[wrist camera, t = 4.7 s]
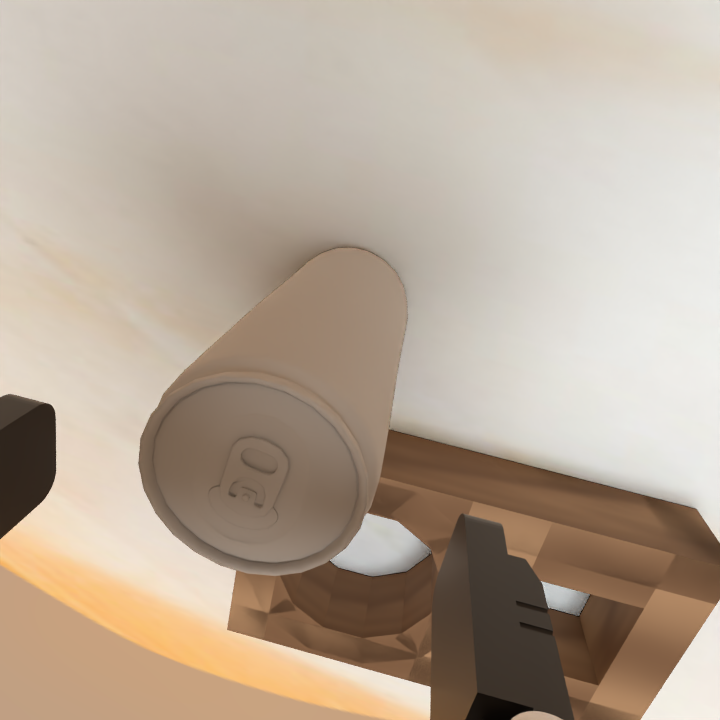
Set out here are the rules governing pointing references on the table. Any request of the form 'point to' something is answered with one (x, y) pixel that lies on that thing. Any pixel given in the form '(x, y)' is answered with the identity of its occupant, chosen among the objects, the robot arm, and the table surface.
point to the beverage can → (283, 421)
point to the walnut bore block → (525, 540)
